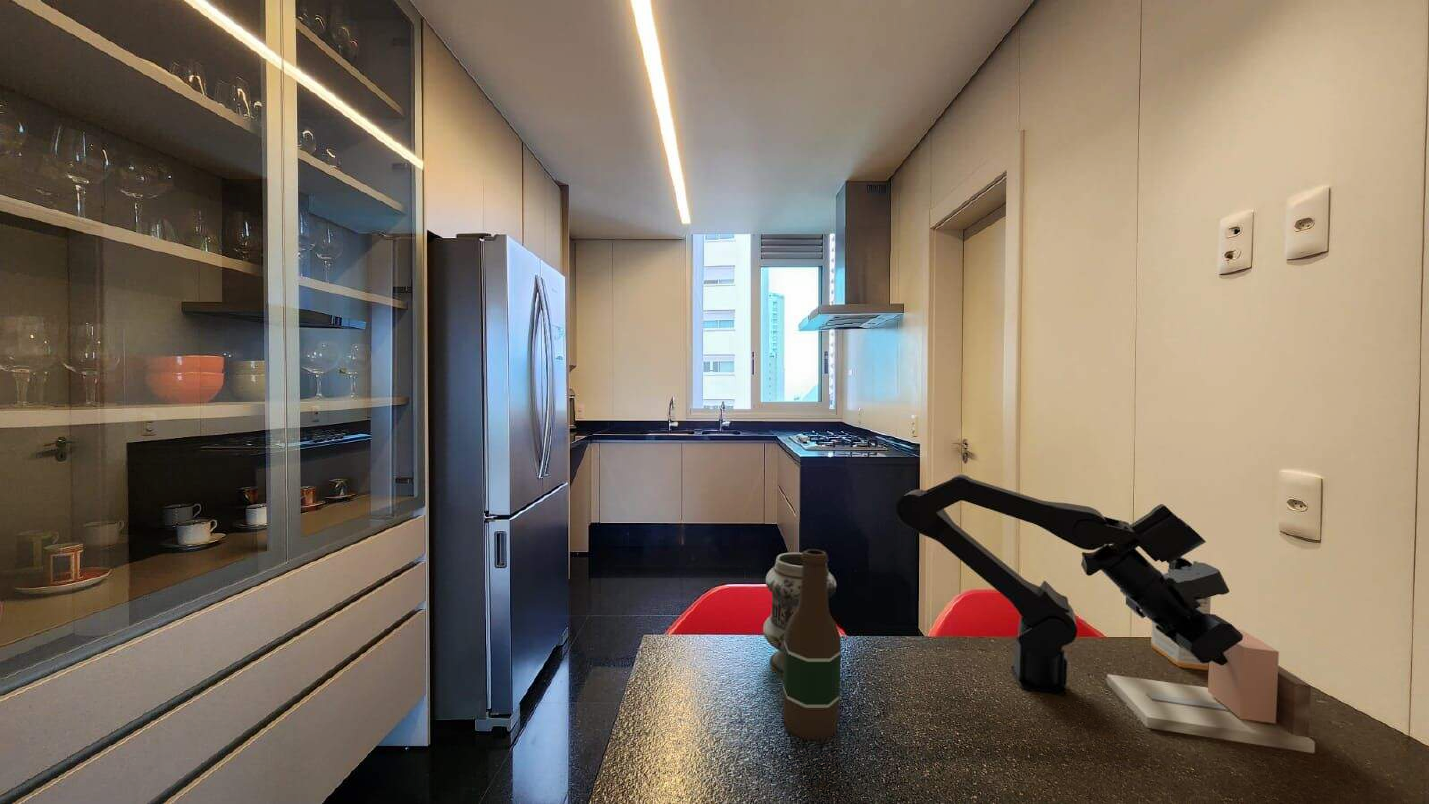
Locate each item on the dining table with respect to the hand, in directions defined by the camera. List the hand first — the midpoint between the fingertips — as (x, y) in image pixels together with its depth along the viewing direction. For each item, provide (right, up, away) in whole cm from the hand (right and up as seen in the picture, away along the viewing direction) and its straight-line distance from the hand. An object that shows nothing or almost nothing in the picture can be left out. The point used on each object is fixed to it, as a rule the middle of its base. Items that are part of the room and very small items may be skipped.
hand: (1223, 662), depth 78 cm
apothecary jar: (-60, -7, +12) cm, 62 cm away
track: (-3, -8, +1) cm, 9 cm away
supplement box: (+9, -8, +18) cm, 22 cm away
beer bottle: (-61, -7, -4) cm, 62 cm away
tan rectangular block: (+2, -6, 0) cm, 7 cm away
